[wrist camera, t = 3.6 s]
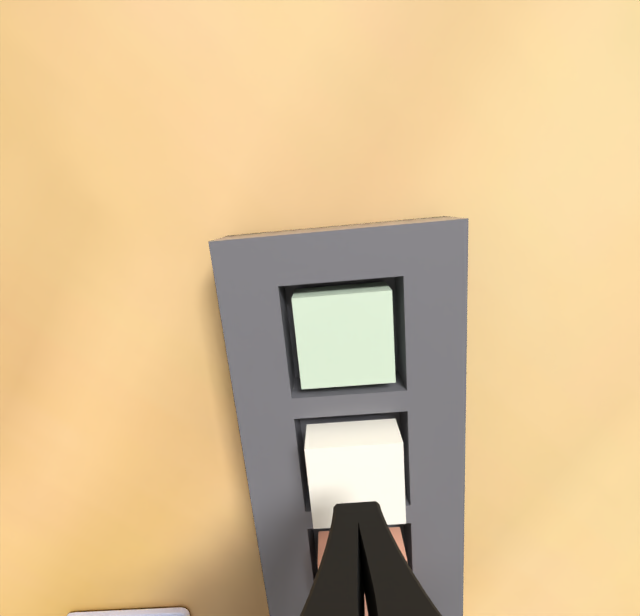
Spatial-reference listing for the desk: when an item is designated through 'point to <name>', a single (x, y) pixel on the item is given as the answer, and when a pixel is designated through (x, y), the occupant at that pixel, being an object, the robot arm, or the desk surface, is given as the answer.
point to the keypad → (351, 388)
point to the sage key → (344, 335)
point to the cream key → (355, 468)
